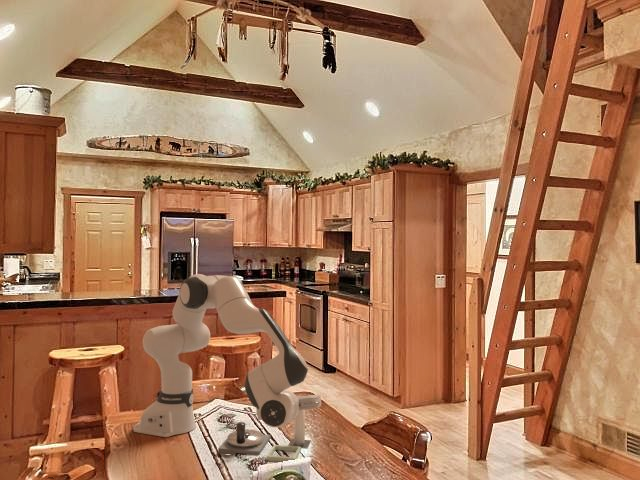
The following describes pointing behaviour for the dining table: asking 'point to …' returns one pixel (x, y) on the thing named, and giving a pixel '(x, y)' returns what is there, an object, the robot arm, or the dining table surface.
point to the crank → (244, 437)
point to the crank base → (229, 449)
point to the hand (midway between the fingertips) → (292, 401)
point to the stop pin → (299, 428)
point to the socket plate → (302, 445)
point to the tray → (281, 458)
